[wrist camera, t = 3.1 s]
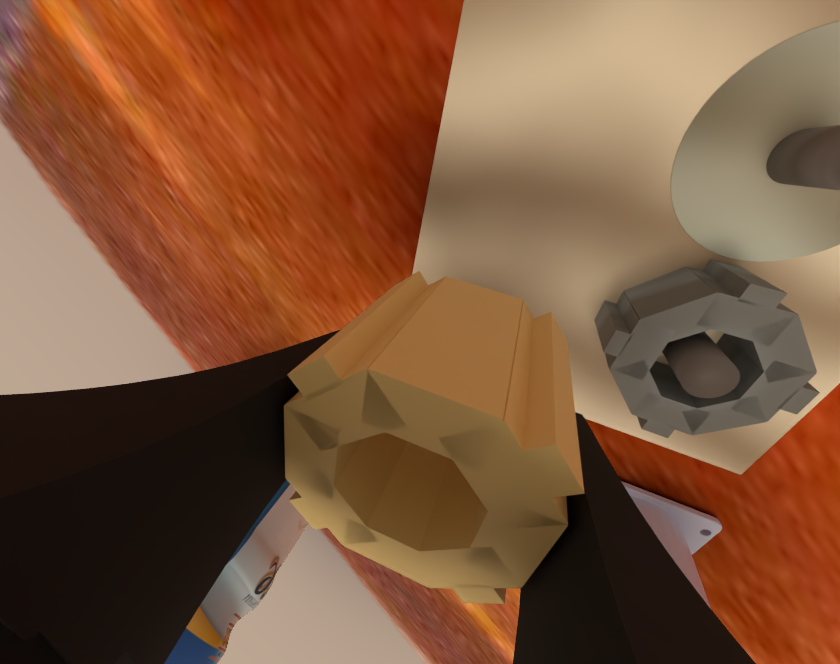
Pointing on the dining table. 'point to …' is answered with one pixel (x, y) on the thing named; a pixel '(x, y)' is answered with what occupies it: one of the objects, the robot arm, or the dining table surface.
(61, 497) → the robot arm
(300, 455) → the ochre gear
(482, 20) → the gear board
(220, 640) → the blue pill bottle
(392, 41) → the dining table surface
